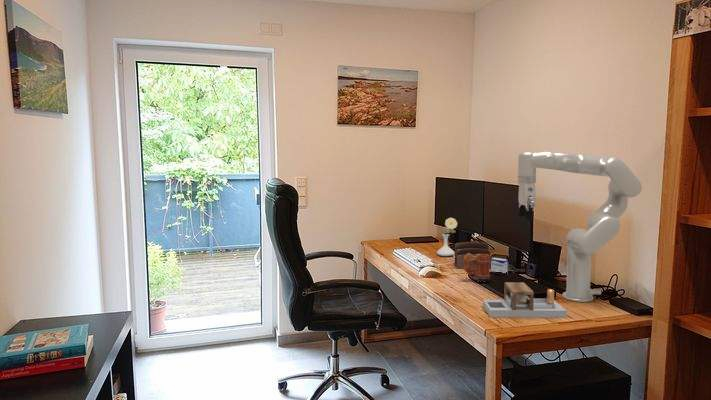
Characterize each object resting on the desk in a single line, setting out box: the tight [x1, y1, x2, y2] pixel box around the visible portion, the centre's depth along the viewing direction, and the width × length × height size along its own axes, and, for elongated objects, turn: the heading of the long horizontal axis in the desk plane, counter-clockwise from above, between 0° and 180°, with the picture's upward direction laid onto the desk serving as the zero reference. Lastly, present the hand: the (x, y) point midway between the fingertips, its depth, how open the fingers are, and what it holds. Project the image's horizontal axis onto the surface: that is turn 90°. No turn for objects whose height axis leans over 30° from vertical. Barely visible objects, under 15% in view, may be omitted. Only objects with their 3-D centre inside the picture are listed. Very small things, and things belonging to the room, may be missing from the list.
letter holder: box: [454, 241, 493, 270], centre depth 260 cm, size 10×20×14 cm, turn 85°
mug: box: [463, 253, 492, 280], centre depth 229 cm, size 15×8×15 cm, turn 92°
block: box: [511, 293, 528, 304], centre depth 185 cm, size 5×5×5 cm
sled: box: [506, 288, 556, 308], centre depth 185 cm, size 18×8×6 cm, turn 86°
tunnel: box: [503, 281, 535, 310], centre depth 185 cm, size 8×13×8 cm, turn 176°
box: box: [490, 257, 509, 273], centre depth 244 cm, size 8×4×9 cm, turn 51°
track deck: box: [482, 299, 567, 319], centre depth 186 cm, size 30×13×3 cm, turn 86°
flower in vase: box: [436, 217, 458, 257], centre depth 289 cm, size 13×11×25 cm
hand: (525, 218), depth 200 cm, fingers open, 9 cm apart
